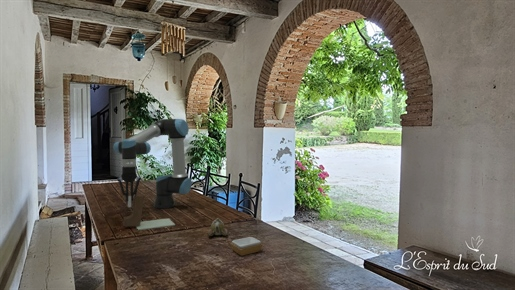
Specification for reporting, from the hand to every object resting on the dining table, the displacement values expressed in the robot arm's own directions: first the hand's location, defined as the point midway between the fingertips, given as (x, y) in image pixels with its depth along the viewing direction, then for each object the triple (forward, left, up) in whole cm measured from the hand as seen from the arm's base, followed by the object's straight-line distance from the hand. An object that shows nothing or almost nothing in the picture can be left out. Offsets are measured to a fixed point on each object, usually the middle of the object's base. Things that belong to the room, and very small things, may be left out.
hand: (129, 206), depth 188 cm
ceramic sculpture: (-41, +34, -13) cm, 55 cm away
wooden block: (-1, 0, -11) cm, 11 cm away
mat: (-14, 0, -12) cm, 19 cm away
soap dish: (-44, +63, -13) cm, 78 cm away
